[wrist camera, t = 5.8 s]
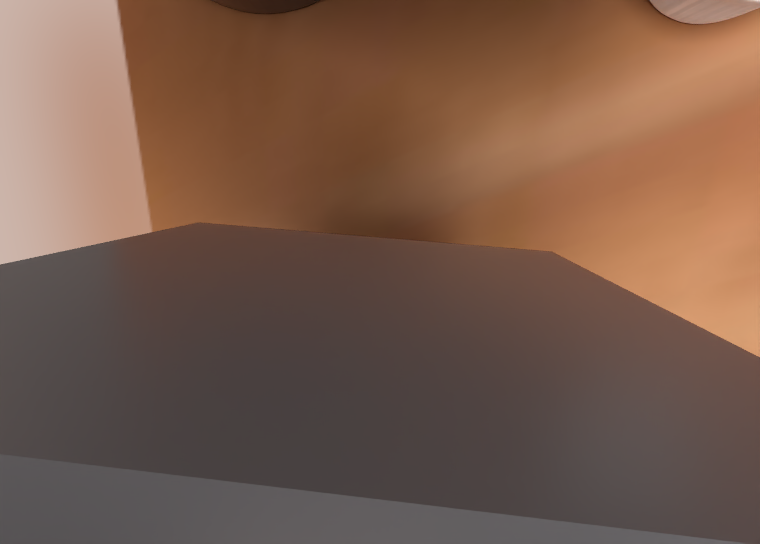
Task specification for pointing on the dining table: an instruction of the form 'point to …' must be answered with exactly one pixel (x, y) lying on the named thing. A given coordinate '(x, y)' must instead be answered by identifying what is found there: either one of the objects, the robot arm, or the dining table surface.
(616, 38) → the dining table surface
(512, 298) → the gray storage cube
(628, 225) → the dining table surface
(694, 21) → the ramekin
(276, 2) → the robot arm
